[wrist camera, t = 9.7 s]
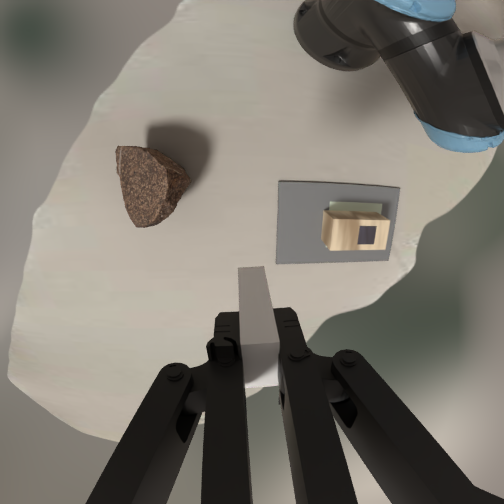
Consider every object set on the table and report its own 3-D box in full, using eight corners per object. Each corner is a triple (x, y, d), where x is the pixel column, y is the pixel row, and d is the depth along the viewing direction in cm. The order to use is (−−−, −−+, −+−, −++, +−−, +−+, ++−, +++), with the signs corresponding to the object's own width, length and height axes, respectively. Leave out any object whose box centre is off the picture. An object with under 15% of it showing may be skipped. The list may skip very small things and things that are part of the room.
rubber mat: (275, 263, 47) (276, 264, 47) (278, 181, 42) (279, 181, 41) (387, 259, 48) (388, 260, 48) (398, 188, 43) (400, 188, 42)
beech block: (330, 250, 41) (385, 249, 41) (333, 219, 39) (390, 220, 39) (320, 239, 45) (372, 238, 46) (323, 210, 43) (376, 211, 44)
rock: (104, 158, 34) (133, 122, 28) (157, 149, 42) (194, 119, 35) (129, 237, 36) (165, 218, 30) (182, 217, 44) (223, 199, 37)
